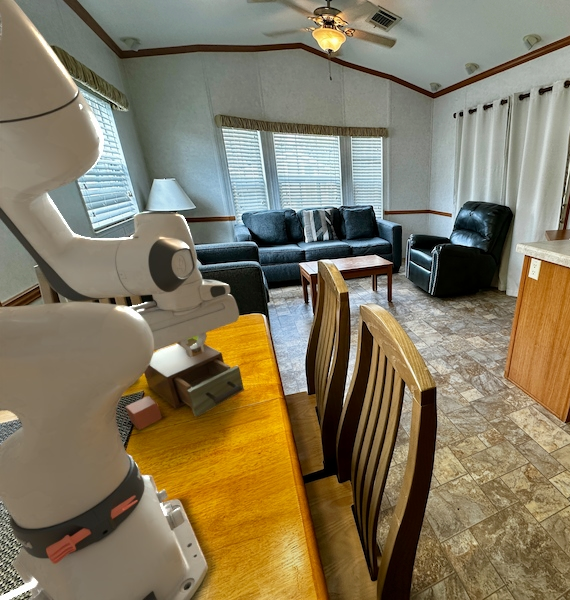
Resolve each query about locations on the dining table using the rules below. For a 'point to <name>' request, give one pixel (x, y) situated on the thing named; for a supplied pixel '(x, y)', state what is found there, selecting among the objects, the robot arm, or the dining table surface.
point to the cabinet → (175, 368)
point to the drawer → (208, 385)
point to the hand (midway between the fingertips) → (195, 354)
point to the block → (143, 412)
